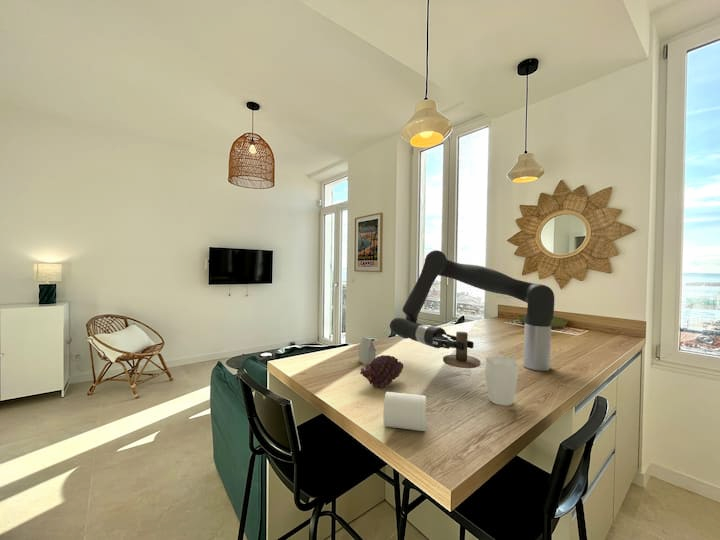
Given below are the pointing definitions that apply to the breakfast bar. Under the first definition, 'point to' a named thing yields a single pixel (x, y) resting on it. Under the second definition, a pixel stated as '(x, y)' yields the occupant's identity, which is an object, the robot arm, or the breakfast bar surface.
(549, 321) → the robot arm
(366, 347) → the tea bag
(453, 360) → the lid
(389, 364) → the pine cone
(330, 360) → the breakfast bar surface
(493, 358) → the cup
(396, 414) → the white rounded block
